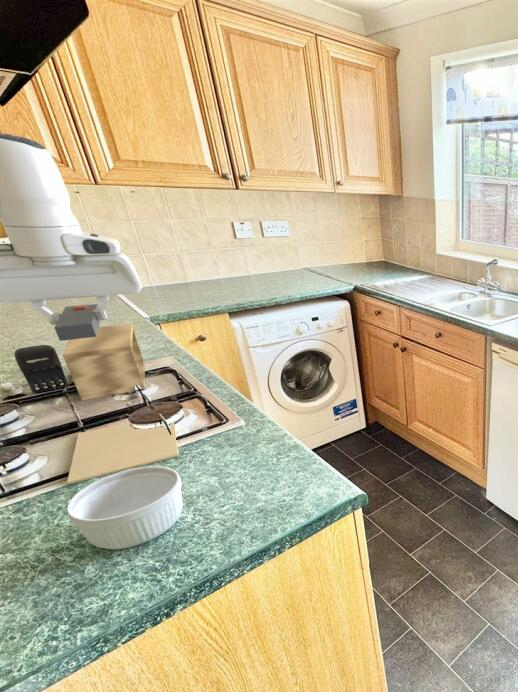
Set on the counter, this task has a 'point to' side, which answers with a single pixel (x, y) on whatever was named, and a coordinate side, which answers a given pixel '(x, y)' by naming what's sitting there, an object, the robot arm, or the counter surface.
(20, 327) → the counter surface
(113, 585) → the counter surface
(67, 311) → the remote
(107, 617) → the counter surface
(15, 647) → the counter surface
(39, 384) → the battery charger
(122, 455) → the mat
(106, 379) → the wooden crate
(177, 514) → the ramekin
